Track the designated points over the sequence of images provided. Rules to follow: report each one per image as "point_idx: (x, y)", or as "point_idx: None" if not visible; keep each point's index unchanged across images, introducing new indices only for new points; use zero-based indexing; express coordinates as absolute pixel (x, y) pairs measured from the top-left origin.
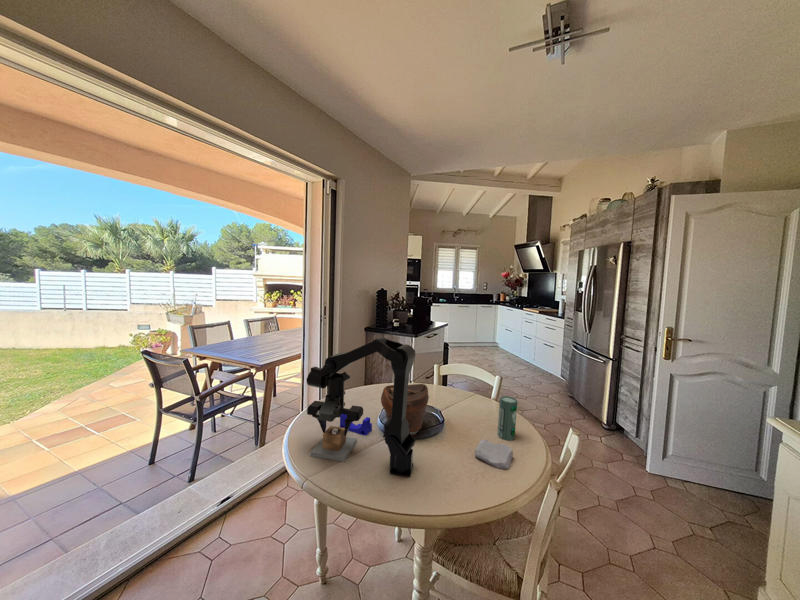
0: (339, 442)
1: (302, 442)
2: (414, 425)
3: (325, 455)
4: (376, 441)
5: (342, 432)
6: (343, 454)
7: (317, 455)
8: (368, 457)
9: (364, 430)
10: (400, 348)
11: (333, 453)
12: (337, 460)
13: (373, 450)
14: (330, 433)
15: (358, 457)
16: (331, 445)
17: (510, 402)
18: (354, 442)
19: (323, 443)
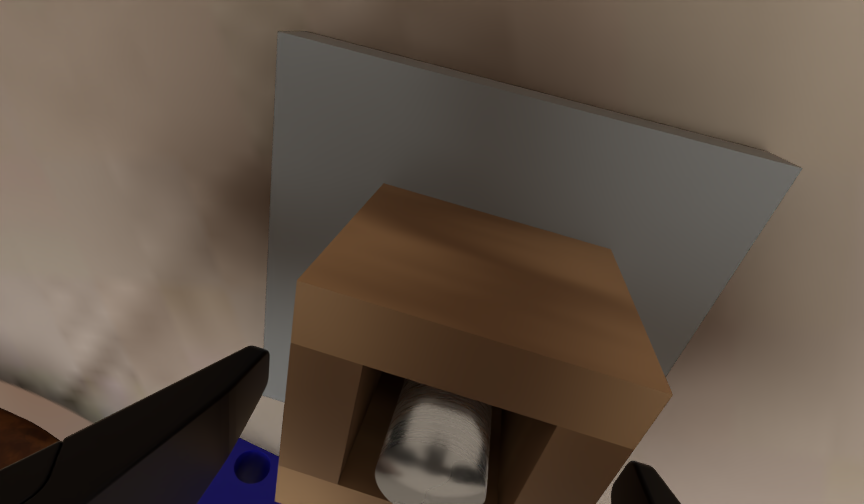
0: (340, 235)
1: (854, 418)
2: None
3: (557, 102)
4: (126, 360)
5: (290, 411)
6: (310, 108)
7: (674, 131)
8: (89, 127)
9: (223, 482)
10: None
11: (446, 130)
12: (392, 54)
13: (95, 240)
14: (506, 408)
15: (183, 127)
16: (484, 240)
17: None
18: (268, 341)
19: (614, 281)
